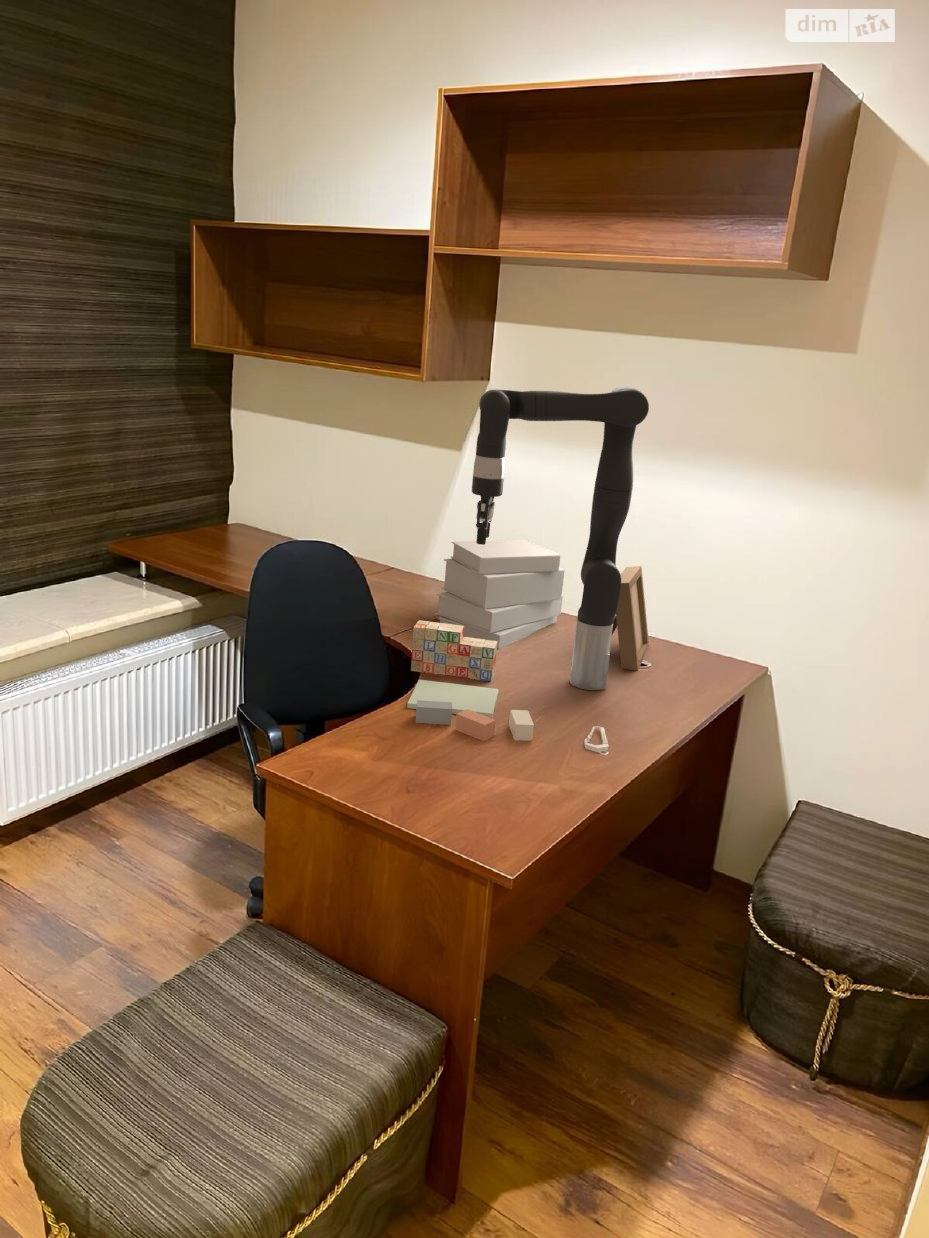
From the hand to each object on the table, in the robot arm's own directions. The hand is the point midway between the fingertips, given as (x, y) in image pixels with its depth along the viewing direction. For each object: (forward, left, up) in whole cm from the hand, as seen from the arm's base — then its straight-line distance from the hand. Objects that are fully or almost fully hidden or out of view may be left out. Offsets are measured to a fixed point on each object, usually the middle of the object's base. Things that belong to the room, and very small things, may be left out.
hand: (482, 540), depth 230 cm
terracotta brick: (-5, +34, -36) cm, 50 cm away
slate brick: (+5, +30, -36) cm, 47 cm away
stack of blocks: (+5, -2, -36) cm, 37 cm away
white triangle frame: (-32, +31, -37) cm, 57 cm away
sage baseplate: (+2, +17, -36) cm, 40 cm away
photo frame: (-39, -29, -36) cm, 61 cm away
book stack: (-3, -42, -36) cm, 56 cm away
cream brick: (-15, +31, -36) cm, 50 cm away
